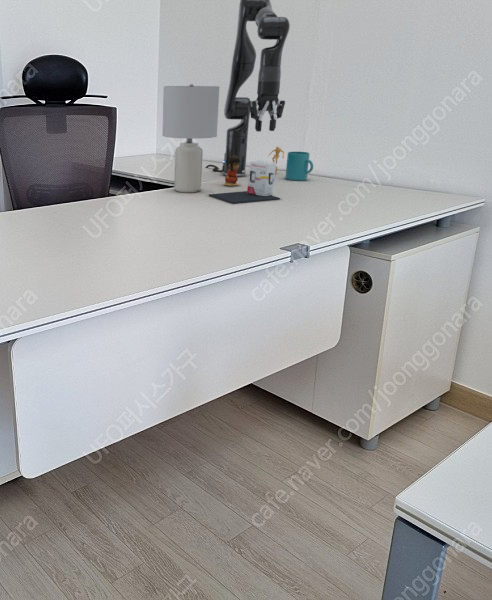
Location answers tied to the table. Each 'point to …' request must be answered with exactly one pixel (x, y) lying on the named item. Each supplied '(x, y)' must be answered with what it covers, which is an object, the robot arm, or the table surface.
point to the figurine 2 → (277, 155)
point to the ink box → (261, 178)
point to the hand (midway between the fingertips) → (265, 130)
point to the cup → (298, 166)
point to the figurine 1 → (232, 170)
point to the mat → (242, 197)
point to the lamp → (189, 129)
